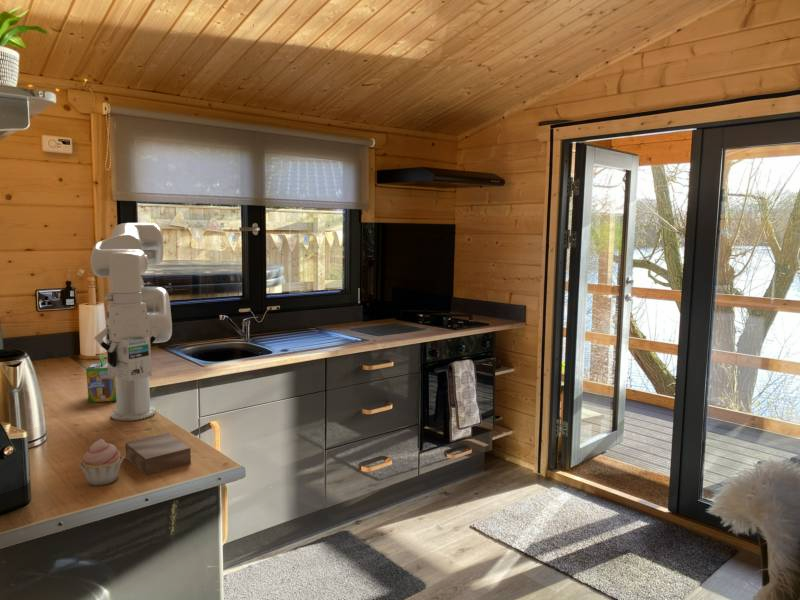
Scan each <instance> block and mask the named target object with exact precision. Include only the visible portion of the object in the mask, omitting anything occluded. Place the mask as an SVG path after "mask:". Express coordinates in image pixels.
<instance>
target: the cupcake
mask: <svg viewBox="0 0 800 600" xmlns="http://www.w3.org/2000/svg"><path fill="white" fill-rule="evenodd" d="M124 459H125V457H124V456H121V453H120V450H119V449H117V447H116V445H114V444H112V443H109V442H106V441H105V440H104V439H102V438H100V439H98V440H96V441H95V442H92V444H91V445H90V446H89V448H88V450H87V451H86V452H85V453H84V456H83V459H82V460H81V462H80V463H79V464H78V465H79V466H80V468H81V470H82V471H83V472H84V476H85V478H86V481H87V484H88V485H91V486H95V487H97V486H106V485H108V484H112V483H114V482H115V481H117V480H118V476H119V472H120V468H121V465H122V462H123V461H124Z"/></svg>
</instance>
